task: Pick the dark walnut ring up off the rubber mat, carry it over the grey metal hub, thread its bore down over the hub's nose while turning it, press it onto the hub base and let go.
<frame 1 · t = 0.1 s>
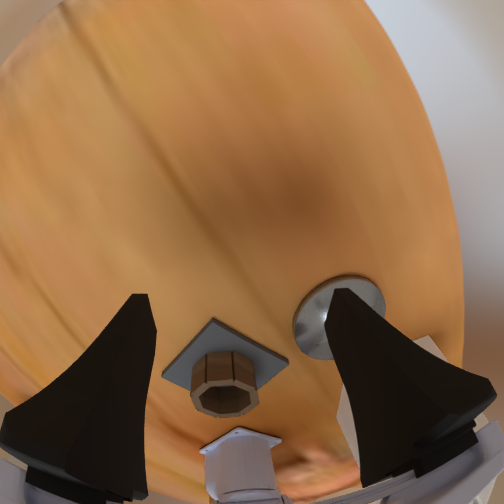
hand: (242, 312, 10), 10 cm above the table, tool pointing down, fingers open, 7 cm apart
hub: (339, 318, 24), on the table
ring: (223, 372, 25), point 1 cm above the table, touching mat
milk: (381, 379, 30), on the table
mat: (223, 368, 25), on the table
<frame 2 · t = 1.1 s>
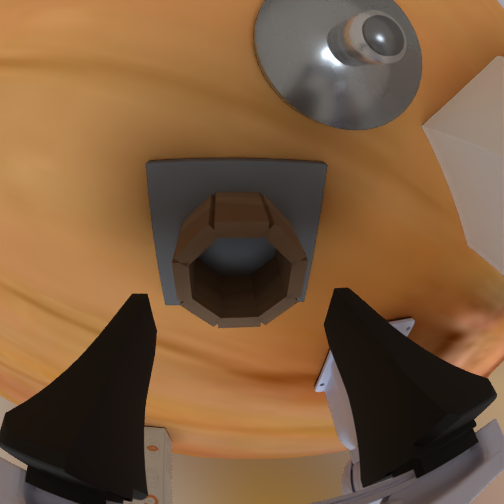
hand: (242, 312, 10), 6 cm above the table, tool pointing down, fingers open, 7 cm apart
hub: (342, 47, 10), on the table
ring: (236, 242, 15), point 1 cm above the table, touching mat
small box: (142, 431, 30), on the table
milk: (490, 151, 14), on the table
mat: (235, 237, 16), on the table
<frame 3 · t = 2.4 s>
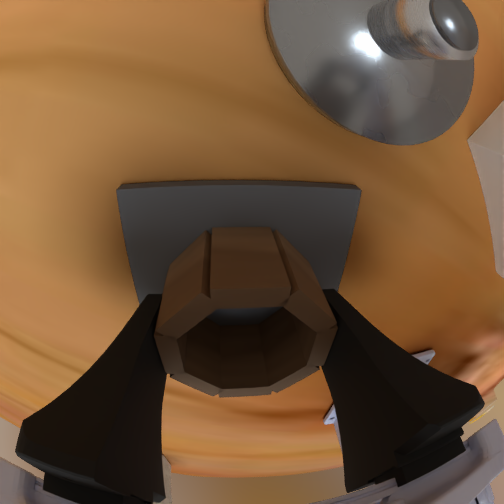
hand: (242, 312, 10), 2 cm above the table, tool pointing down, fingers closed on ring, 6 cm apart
hub: (382, 33, 7), on the table
ring: (239, 289, 12), point 1 cm above the table, touching gripper, mat
small box: (139, 455, 27), on the table
mat: (238, 280, 12), on the table
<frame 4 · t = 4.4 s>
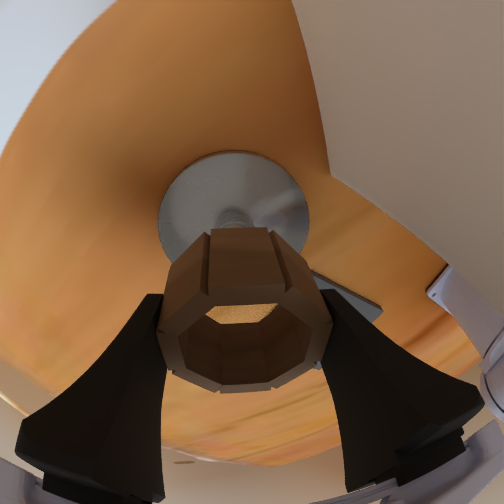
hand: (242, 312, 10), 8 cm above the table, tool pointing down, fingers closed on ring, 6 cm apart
hub: (233, 222, 17), on the table
ring: (239, 288, 12), point 6 cm above the table, touching gripper
milk: (398, 77, 13), on the table
mat: (314, 326, 23), on the table
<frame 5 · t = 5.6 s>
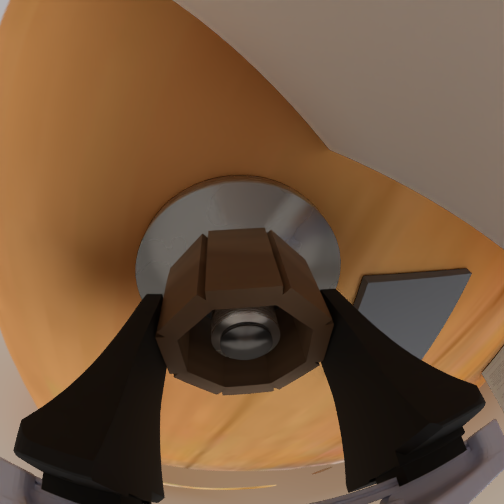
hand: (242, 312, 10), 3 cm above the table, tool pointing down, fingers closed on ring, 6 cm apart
hub: (238, 272, 13), on the table
ring: (239, 289, 12), point 1 cm above the table, touching gripper, hub
small box: (502, 351, 27), on the table
mat: (399, 325, 17), on the table
when the fingers open (3 cm above the table, at t = 6.3 s): ring stays where it is, resting on hub.
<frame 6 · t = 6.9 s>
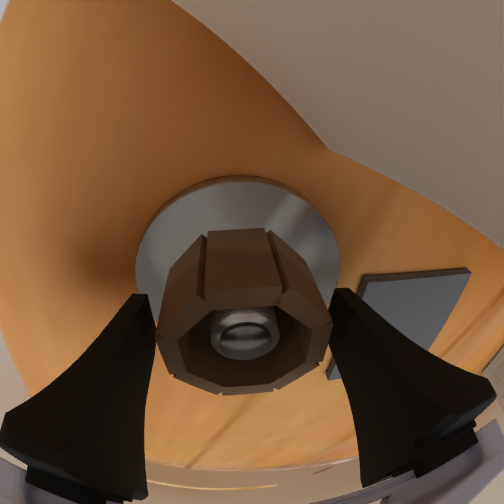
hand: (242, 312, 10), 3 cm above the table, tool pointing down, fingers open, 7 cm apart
hub: (237, 272, 13), on the table
ring: (238, 289, 12), point 1 cm above the table, touching hub
small box: (502, 350, 27), on the table
mat: (399, 325, 17), on the table
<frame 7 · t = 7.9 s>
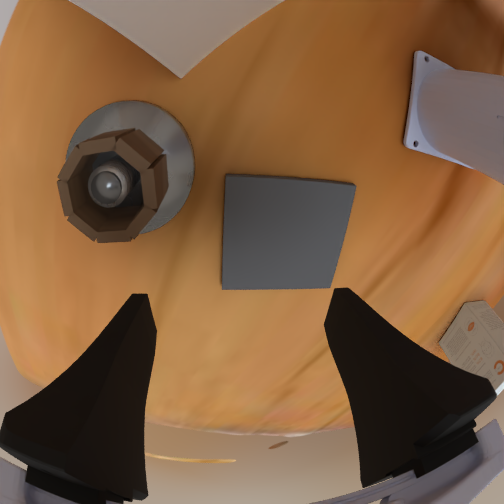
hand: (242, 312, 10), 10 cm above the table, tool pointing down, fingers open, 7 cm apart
hub: (128, 167, 16), on the table
ring: (123, 174, 16), point 1 cm above the table, touching hub
small box: (461, 320, 31), on the table
mat: (285, 236, 20), on the table
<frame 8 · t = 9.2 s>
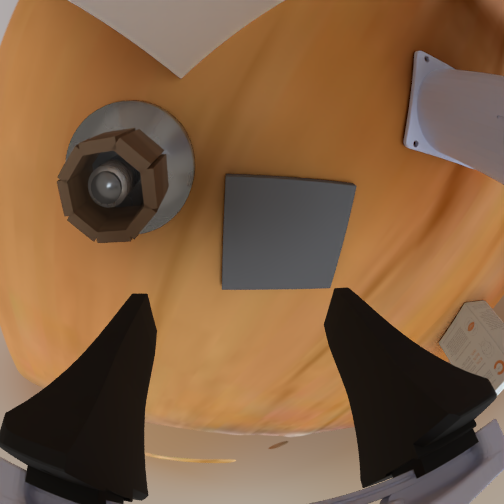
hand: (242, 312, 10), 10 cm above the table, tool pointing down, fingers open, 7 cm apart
hub: (128, 167, 16), on the table
ring: (123, 174, 16), point 1 cm above the table, touching hub
small box: (461, 320, 31), on the table
mat: (285, 236, 20), on the table
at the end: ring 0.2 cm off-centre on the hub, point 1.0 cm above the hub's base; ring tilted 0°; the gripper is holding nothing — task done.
